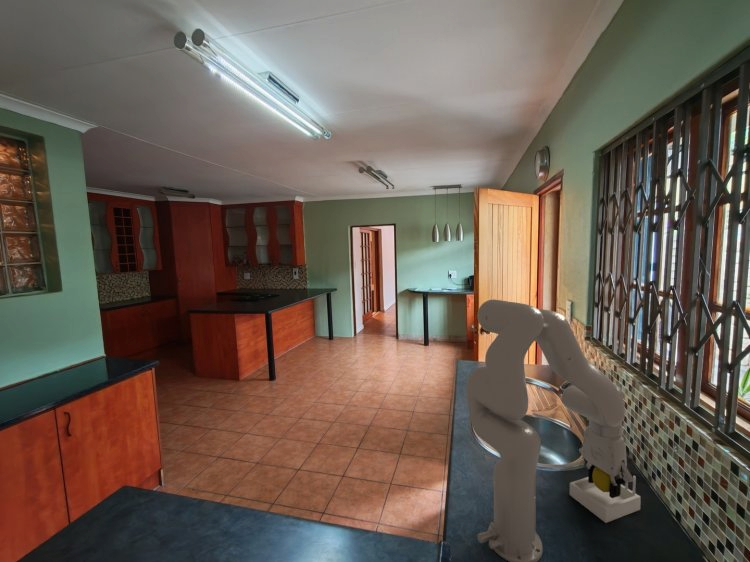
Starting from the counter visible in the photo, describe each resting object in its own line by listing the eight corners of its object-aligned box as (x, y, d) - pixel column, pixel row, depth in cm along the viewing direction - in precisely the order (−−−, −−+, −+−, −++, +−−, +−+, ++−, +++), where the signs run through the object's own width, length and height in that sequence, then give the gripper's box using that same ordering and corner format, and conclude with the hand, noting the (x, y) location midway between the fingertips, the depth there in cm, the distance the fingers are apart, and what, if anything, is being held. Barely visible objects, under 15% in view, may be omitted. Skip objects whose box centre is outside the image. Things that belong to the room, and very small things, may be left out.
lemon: (619, 500, 92) (620, 472, 91) (597, 497, 93) (597, 470, 92) (609, 486, 97) (610, 460, 97) (588, 484, 98) (589, 458, 98)
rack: (605, 522, 88) (606, 491, 87) (569, 494, 98) (570, 466, 98) (640, 509, 92) (641, 479, 91) (602, 484, 103) (602, 456, 102)
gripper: (568, 416, 100) (567, 473, 102) (627, 446, 84) (625, 514, 86) (587, 412, 103) (585, 468, 104) (647, 440, 87) (645, 506, 88)
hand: (603, 488), depth 95 cm, fingers closed on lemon, 5 cm apart
